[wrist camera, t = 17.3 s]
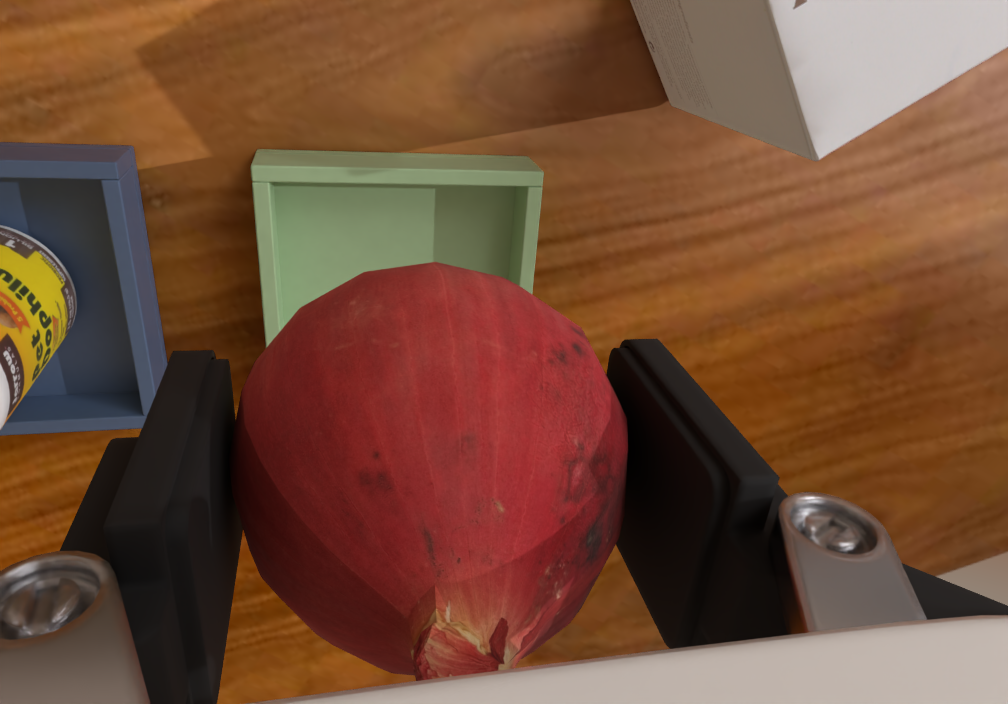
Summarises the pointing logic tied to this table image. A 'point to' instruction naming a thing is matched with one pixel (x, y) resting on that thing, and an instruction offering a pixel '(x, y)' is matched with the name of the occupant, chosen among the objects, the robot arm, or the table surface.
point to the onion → (430, 469)
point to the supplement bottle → (29, 313)
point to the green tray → (387, 219)
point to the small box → (814, 61)
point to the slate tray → (88, 285)
